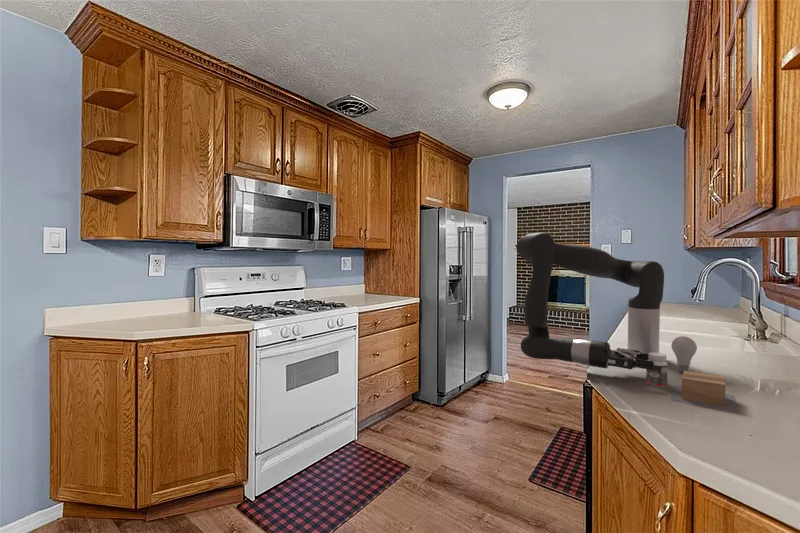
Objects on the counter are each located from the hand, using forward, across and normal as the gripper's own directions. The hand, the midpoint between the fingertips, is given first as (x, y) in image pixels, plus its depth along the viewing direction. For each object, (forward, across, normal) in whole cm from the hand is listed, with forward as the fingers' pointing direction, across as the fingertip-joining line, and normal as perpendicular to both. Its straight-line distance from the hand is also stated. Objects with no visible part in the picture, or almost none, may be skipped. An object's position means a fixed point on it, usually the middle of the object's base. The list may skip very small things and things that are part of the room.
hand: (655, 362), depth 105 cm
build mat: (+10, -6, +6) cm, 13 cm away
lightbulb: (+5, +18, +6) cm, 20 cm away
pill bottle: (0, 0, +6) cm, 6 cm away
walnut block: (+10, -6, +6) cm, 13 cm away
